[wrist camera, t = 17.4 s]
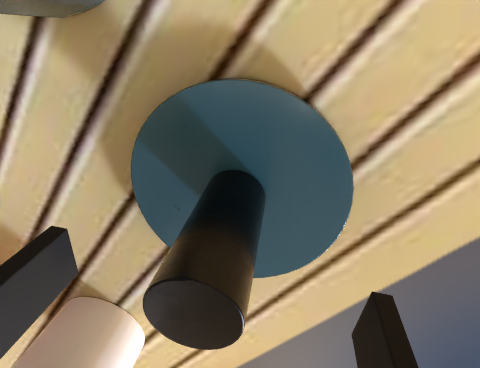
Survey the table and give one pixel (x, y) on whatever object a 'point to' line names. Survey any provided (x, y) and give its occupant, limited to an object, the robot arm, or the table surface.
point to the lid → (234, 200)
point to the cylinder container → (86, 338)
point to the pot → (46, 7)
